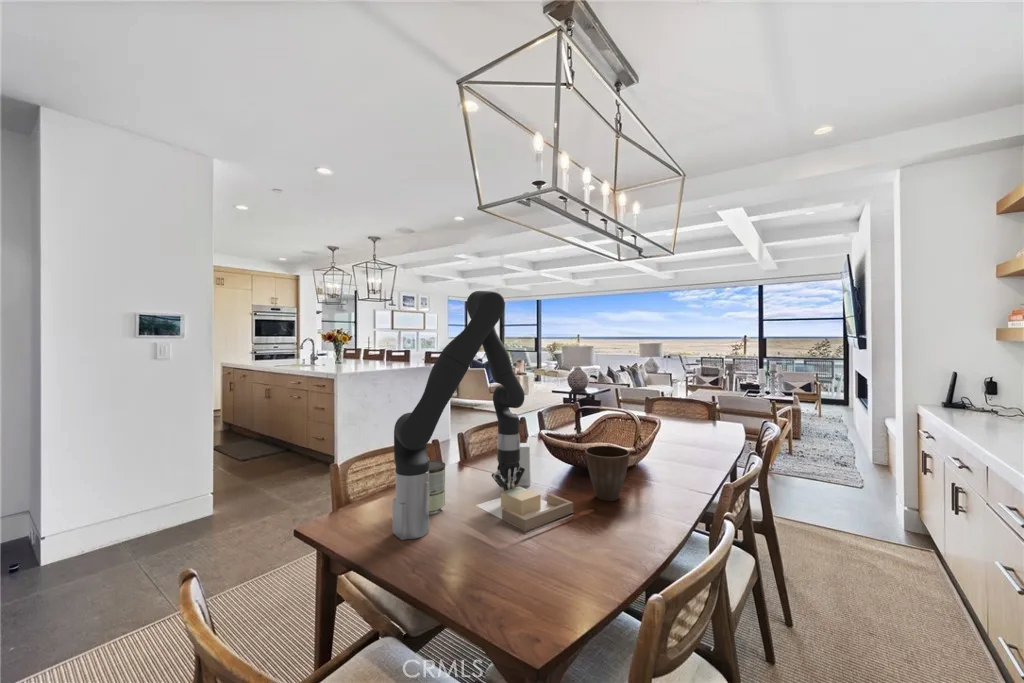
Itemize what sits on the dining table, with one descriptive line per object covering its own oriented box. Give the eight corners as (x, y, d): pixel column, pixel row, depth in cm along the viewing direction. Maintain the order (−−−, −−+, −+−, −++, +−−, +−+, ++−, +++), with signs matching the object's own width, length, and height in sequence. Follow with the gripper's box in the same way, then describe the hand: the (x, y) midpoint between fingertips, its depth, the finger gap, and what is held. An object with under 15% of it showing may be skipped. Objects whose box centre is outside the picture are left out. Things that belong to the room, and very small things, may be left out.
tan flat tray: (525, 535, 115) (525, 520, 115) (475, 509, 134) (475, 496, 134) (573, 516, 128) (573, 502, 128) (521, 494, 147) (521, 482, 147)
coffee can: (406, 510, 132) (406, 466, 133) (428, 500, 141) (428, 458, 141) (430, 517, 127) (430, 471, 127) (451, 506, 136) (452, 463, 136)
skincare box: (530, 483, 158) (530, 442, 158) (529, 489, 151) (529, 447, 152) (508, 483, 159) (509, 442, 159) (507, 489, 152) (507, 446, 152)
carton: (521, 515, 126) (521, 500, 126) (500, 506, 133) (500, 491, 133) (540, 508, 131) (540, 494, 131) (519, 499, 138) (519, 486, 138)
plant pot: (618, 509, 134) (618, 459, 134) (577, 498, 143) (577, 452, 143) (635, 495, 146) (635, 450, 146) (596, 486, 155) (596, 443, 155)
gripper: (500, 452, 130) (500, 507, 130) (531, 445, 138) (531, 497, 138) (485, 447, 135) (485, 500, 135) (516, 441, 144) (516, 491, 144)
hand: (508, 499), depth 137 cm, fingers closed
